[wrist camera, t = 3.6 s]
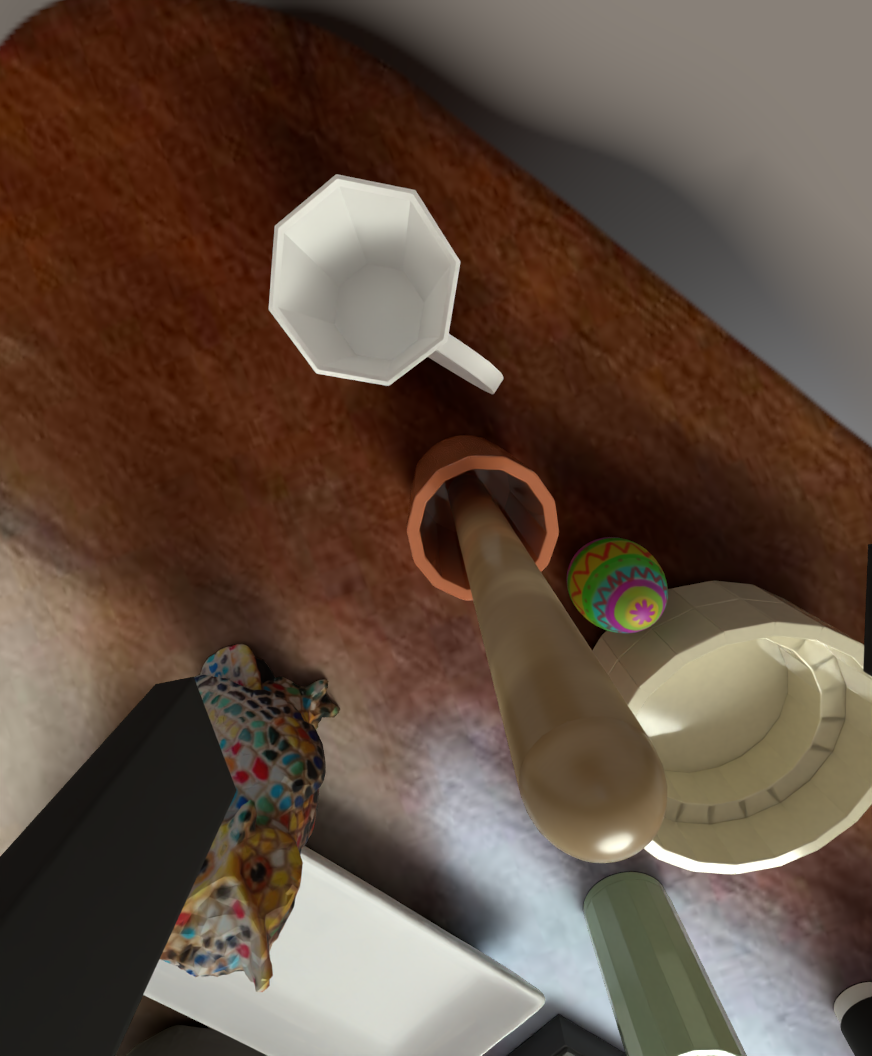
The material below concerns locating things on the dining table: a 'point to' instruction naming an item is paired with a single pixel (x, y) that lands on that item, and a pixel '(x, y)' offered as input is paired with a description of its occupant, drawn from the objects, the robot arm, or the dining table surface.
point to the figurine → (253, 816)
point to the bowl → (747, 725)
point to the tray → (357, 981)
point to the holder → (508, 487)
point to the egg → (617, 585)
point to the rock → (192, 1044)
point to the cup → (369, 285)
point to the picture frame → (565, 1042)
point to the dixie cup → (856, 1017)
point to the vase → (654, 972)
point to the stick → (556, 699)
